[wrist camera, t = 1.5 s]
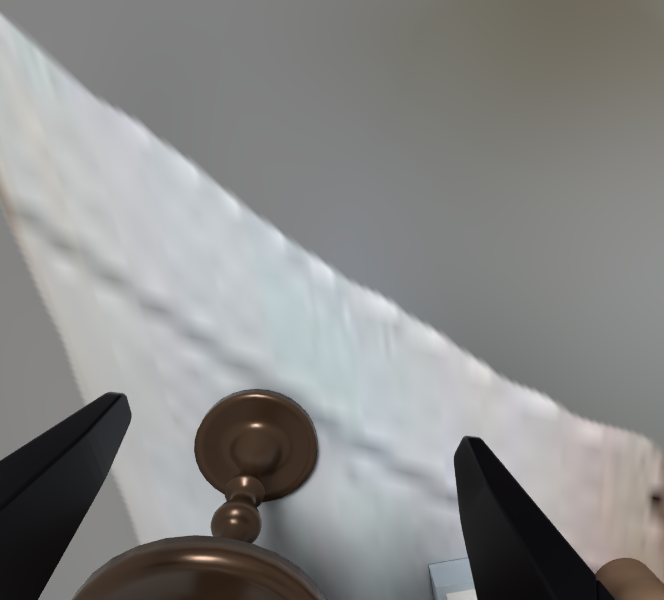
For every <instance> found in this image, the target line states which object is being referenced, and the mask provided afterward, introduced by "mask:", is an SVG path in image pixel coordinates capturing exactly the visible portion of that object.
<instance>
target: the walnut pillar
mask: <svg viewBox="0 0 664 600" xmlns="http://www.w3.org/2000/svg"><path fill="white" fill-rule="evenodd" d="M596 579H598V580H600V581H601V582H602V583H603V585H604V586H605V587H606V588H607V589H608V591H609V592H610V593H611V594H612V595H613V597H614V598H615V599H616V600H664V584H663V583H662V582H661V581H660V580H659V579H658V578H657V577H656V575H655V574H654V573H653V572H652V571H651V570H650V569H649V568H648V567H647V566H646V565H645V564H643V563H642V562H640V561H638V560H635V559H630V558H621V559H616V560H613V561H611V562H609V563H607V564H605V565H604V566H603V567H602V568H600V569H599V571H598V572H597V573H596Z"/></svg>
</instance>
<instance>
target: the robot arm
mask: <svg viewBox="0 0 664 600" xmlns="http://www.w3.org/2000/svg"><path fill="white" fill-rule="evenodd" d="M130 421H131V410H130V407H129V403H128V400H127V396H126V395H125V394H123V393H116V392H108V393H105V394H104V395H102V396H101V397H99V398H97V399H96V400H94V401H93V402H91V403H90V404H88V405H87V406H85V407H83V408H82V409H80V410H79V411H77V412H76V413H74V414H73V415H71V416H69V417H68V418H66V419H65V420H63V421H62V422H60V423H58V424H57V425H55V426H54V427H52V428H51V429H49V430H47V431H46V432H44V433H43V434H41V435H40V436H38V437H37V438H35V439H33V440H32V441H30V442H29V443H27V444H26V445H24V446H22V447H21V448H19V449H18V450H16V451H15V452H13V453H11V454H10V455H8V456H7V457H5V458H4V459H2V460H1V461H0V600H38V598H39V597H40V595H41V593H42V591H43V590H44V588H45V586H46V584H47V582H48V581H49V579H50V577H51V575H52V573H53V572H54V570H55V568H56V566H57V565H58V563H59V561H60V559H61V557H62V556H63V553H64V552H65V550H66V548H67V547H68V545H69V543H70V541H71V540H72V538H73V536H74V534H75V533H76V531H77V529H78V527H79V525H80V524H81V522H82V520H83V518H84V517H85V515H86V513H87V511H88V509H89V507H90V506H91V504H92V502H93V501H94V499H95V497H96V495H97V493H98V492H99V490H100V488H101V486H102V484H103V482H104V480H105V478H106V476H107V474H108V472H109V470H110V468H111V465H112V463H113V461H114V458H115V456H116V454H117V452H118V449H119V447H120V445H121V442H122V440H123V438H124V436H125V433H126V431H127V429H128V426H129V424H130ZM454 468H455V477H456V486H457V495H458V504H459V513H460V520H461V526H462V531H463V536H464V540H465V545H466V550H467V554H468V559H469V564H470V568H471V573H472V577H473V582H474V587H475V591H476V596H477V600H616V599H615V598H614V597H613V595H612V594H611V593H610V592H609V591H608V589H607V588H606V587H605V586H604V585H603V583H602V582H601V581H600V580H598V579H596V575H595V574H594V573H593V572H592V570H591V569H590V568H589V567H588V566H587V565H586V563H585V562H584V561H583V560H582V559H581V557H580V556H579V555H578V554H577V553H576V551H575V550H574V549H573V548H572V547H571V545H570V544H569V543H568V542H567V541H566V539H565V538H564V537H563V536H562V535H561V533H560V532H559V531H558V530H557V529H556V527H555V526H554V525H553V524H552V523H551V521H550V520H549V519H548V518H547V517H546V515H545V514H544V513H543V512H542V511H541V509H540V508H539V507H538V506H537V505H536V503H535V502H534V501H533V500H532V499H531V497H530V496H529V495H528V494H527V493H526V491H525V490H524V489H523V488H522V487H521V485H520V484H519V483H518V482H517V481H516V479H515V478H514V477H513V476H512V475H511V473H510V472H509V471H508V470H507V469H506V468H505V466H504V465H503V464H502V463H501V462H500V460H499V459H498V458H497V457H496V456H495V454H494V453H493V452H492V451H491V450H490V448H489V447H488V446H487V445H486V444H485V442H484V441H483V440H482V439H481V438H479V437H473V436H465V437H463V439H462V440H461V442H460V444H459V446H458V448H457V450H456V452H455V455H454Z"/></svg>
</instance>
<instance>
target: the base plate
mask: <svg viewBox="0 0 664 600" xmlns="http://www.w3.org/2000/svg"><path fill="white" fill-rule="evenodd" d="M429 570H430V575H431V581H432V586H433V592H434V598H435V600H477V596H476V591H475V587H474V582H473V577H472V573H471V568H470V564H469V559H468V558H465V559H459V560H453V561H447V562H441V563H435V564H430V565H429Z"/></svg>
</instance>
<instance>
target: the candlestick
mask: <svg viewBox="0 0 664 600" xmlns="http://www.w3.org/2000/svg"><path fill="white" fill-rule="evenodd" d="M194 452H195V457H196V462H197V464H198V467H199V469H200V471H201V473H202V474H203V476H204V477H205V479H206V480H207V481H208V482H209V483H210V484H211V485H212V486H213V487H214V488H215V489H217V490H218V491H220V492H221V493H223V494H225V498H226V500H227V502H225V503H224V504H223V505H222V506H221V507H219V508H218V510H217V511H216V512H215V513H214V515H213V518H212V521H211V531H212V535H213V536H196V535H194V536H184V537H174V538H165V539H161V540H158V541H154V542H150V543H147V544H143V545H139V546H137V547H135V548H133V549H130V550H128V551H126V552H124V553H122V554H120V555H118V556H116V557H114V558H112V559H111V560H110V561H108V562H107V563H106V564H104V565H103V566H102V567H100V568H99V569H98V570H96V571H95V572H94V573H92V575H91V576H90V577H89V578H88V579H87V580H86V582H85V583H84V584H83V585H82V586H81V587H80V589H79V590H78V591H77V592H76V594H75V596H74V597H73V598H72V600H327V599H326V597H325V596H324V594H323V593H322V591H321V590H320V588H319V587H318V585H317V584H316V583H315V582H314V581H313V580H312V579H311V578H310V577H309V576H308V575H307V574H305V573H304V572H303V571H302V570H301V569H300V568H299V567H297V566H296V565H294V564H293V563H291V562H290V561H288V560H286V559H285V558H283V557H282V556H280V555H279V554H277V553H274V552H272V551H269V550H267V549H264V548H262V547H260V546H257V545H255V544H252V543H253V542H254V541H255V540H256V539H257V537H258V536H259V534H260V531H261V525H262V521H261V517H260V514H259V511H258V509H257V507H258V506H259V505H260V504H261V502H267V501H272V500H276V499H279V498H282V497H284V496H286V495H288V494H290V493H292V492H293V491H295V490H296V489H297V488H299V487H300V486H301V485H302V484H303V483H304V482H305V480H306V479H307V478H308V476H309V475H310V473H311V471H312V470H313V467H314V464H315V461H316V454H317V438H316V431H315V428H314V425H313V422H312V421H311V419H310V417H309V415H308V414H307V413H306V411H305V410H304V409H303V408H302V407H301V406H300V405H299V404H298V403H296V402H295V401H294V400H292V399H291V398H289V397H287V396H285V395H283V394H281V393H277V392H274V391H270V390H262V389H251V390H243V391H239V392H236V393H233V394H231V395H229V396H227V397H225V398H223V399H221V400H220V401H219V402H217V403H216V404H215V405H214V406H213V407H212V408H211V409H210V410H209V411H208V413H207V414H206V416H205V417H204V419H203V421H202V423H201V425H200V427H199V428H198V430H197V434H196V438H195V447H194Z"/></svg>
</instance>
